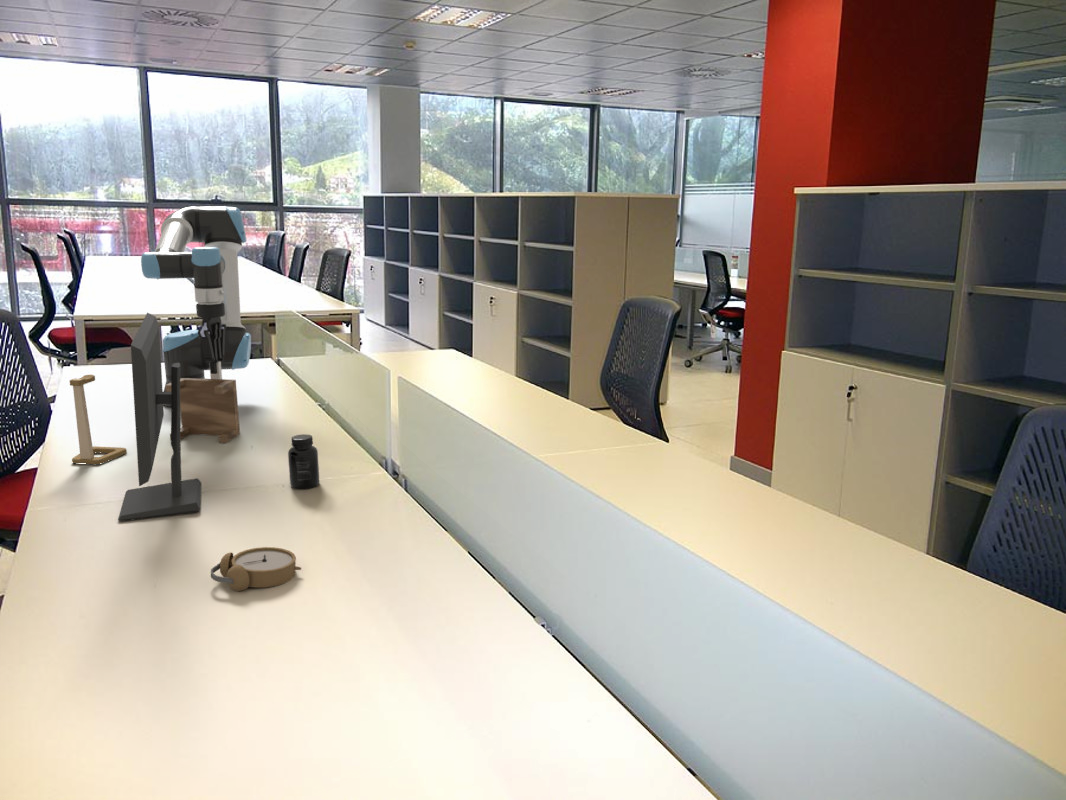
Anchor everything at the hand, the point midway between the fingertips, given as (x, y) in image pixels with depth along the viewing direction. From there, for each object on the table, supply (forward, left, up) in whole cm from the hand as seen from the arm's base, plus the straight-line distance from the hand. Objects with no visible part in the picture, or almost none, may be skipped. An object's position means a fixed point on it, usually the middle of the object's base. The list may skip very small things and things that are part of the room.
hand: (216, 383), depth 239 cm
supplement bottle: (+43, +41, -14) cm, 61 cm away
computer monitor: (+58, +14, -14) cm, 62 cm away
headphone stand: (+30, -19, -14) cm, 38 cm away
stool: (+9, 0, -14) cm, 16 cm away
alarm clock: (+91, +49, -14) cm, 105 cm away
